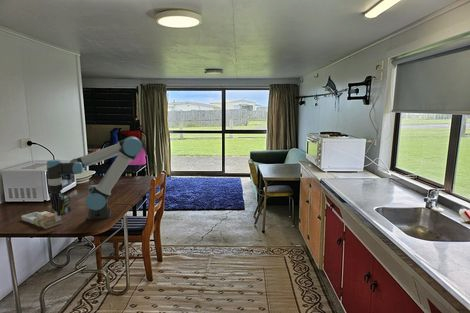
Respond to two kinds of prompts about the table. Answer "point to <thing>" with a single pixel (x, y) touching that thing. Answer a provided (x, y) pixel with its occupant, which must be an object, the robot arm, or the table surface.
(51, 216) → the salmon tan block
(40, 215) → the off-white block
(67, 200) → the chalk box
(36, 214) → the tray
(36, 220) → the birch board
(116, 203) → the table surface
